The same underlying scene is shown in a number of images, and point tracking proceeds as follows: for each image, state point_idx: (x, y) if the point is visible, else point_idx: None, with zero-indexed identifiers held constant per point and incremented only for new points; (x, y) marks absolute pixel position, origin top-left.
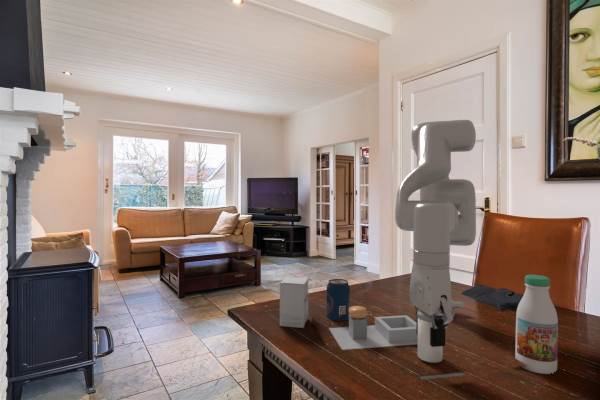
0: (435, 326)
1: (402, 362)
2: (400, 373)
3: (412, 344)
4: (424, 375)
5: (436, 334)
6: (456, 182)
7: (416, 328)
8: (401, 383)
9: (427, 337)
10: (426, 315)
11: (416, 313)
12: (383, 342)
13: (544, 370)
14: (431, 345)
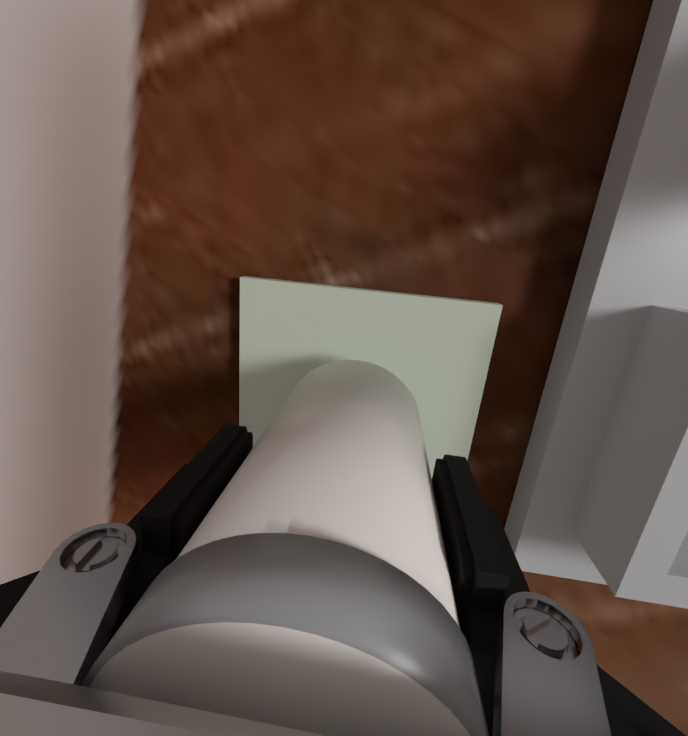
0: (53, 553)
1: (430, 286)
2: (323, 204)
3: (549, 439)
4: (245, 305)
5: (148, 505)
6: None
7: (475, 484)
8: (228, 150)
9: (258, 447)
10: (133, 644)
11: (564, 639)
12: (673, 266)
13: None
14: (227, 426)
